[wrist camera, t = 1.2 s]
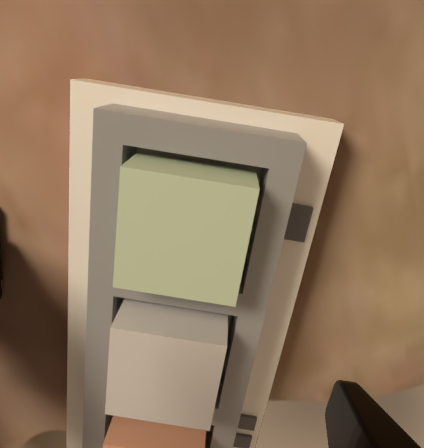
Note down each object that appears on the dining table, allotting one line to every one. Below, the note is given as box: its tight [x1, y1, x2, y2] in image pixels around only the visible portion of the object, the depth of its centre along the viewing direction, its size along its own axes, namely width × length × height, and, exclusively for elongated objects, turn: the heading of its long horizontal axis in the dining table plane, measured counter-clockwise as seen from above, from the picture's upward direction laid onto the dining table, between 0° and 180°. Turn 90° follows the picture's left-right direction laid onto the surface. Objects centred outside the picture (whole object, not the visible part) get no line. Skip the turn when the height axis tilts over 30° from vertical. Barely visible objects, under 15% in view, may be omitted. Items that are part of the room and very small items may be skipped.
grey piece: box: [66, 79, 344, 448], centre depth 21 cm, size 12×24×4 cm, turn 171°
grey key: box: [105, 298, 228, 431], centre depth 18 cm, size 5×5×2 cm
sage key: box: [113, 153, 260, 307], centre depth 16 cm, size 5×5×2 cm
